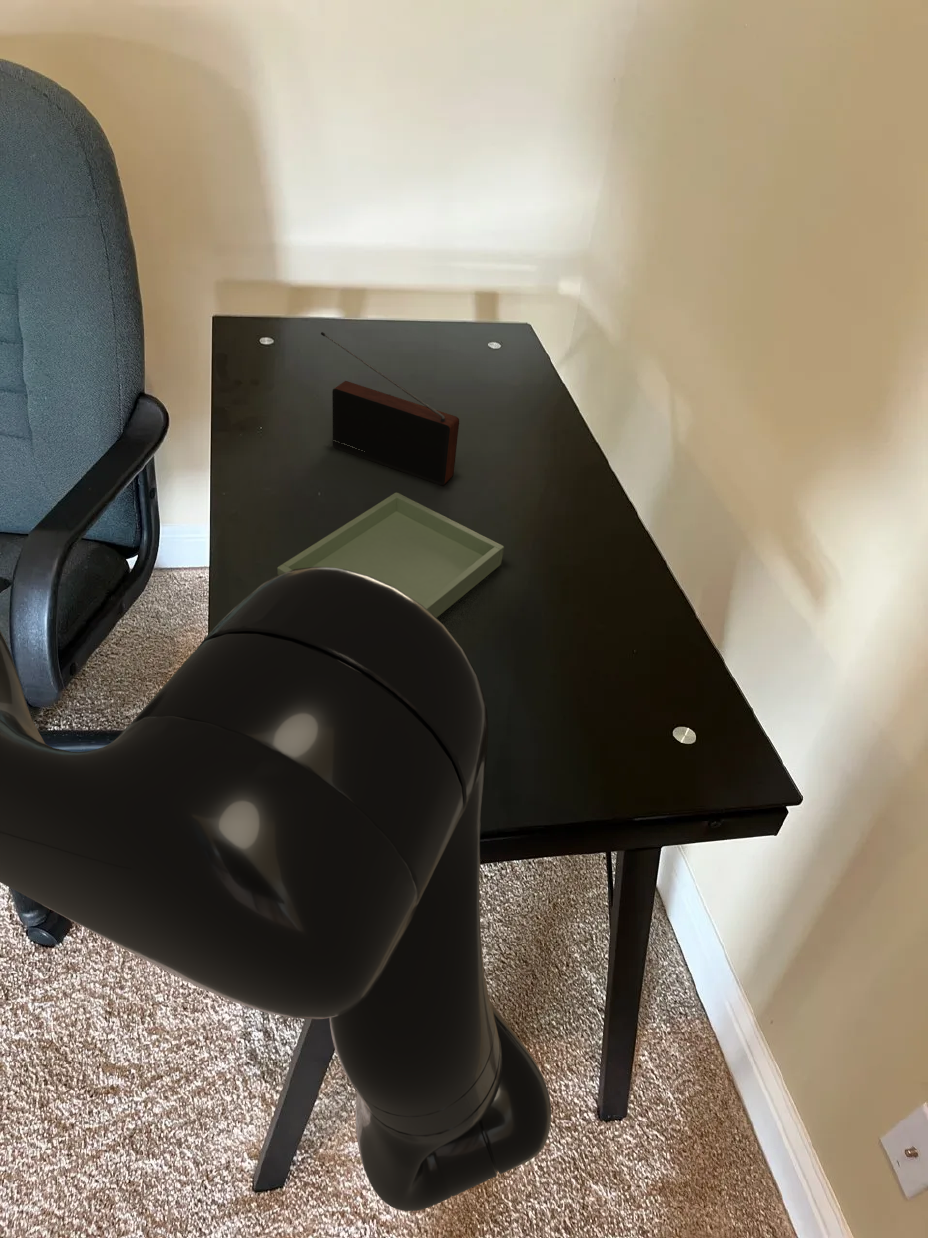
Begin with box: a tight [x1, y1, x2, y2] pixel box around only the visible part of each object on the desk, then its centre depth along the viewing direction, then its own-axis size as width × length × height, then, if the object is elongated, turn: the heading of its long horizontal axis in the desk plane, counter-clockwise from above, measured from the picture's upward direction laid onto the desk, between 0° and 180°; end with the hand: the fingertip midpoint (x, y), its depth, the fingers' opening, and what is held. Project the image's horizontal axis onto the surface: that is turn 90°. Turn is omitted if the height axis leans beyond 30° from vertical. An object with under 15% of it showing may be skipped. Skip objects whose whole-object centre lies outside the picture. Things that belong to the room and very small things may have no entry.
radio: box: [320, 331, 460, 486], centre depth 104 cm, size 19×3×15 cm, turn 65°
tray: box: [276, 492, 505, 619], centre depth 90 cm, size 20×16×3 cm
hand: (316, 683), depth 68 cm, fingers open, 5 cm apart
